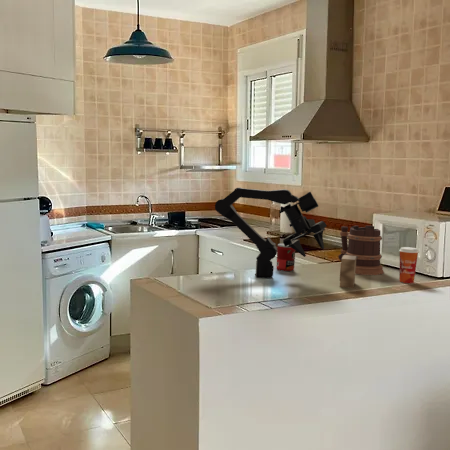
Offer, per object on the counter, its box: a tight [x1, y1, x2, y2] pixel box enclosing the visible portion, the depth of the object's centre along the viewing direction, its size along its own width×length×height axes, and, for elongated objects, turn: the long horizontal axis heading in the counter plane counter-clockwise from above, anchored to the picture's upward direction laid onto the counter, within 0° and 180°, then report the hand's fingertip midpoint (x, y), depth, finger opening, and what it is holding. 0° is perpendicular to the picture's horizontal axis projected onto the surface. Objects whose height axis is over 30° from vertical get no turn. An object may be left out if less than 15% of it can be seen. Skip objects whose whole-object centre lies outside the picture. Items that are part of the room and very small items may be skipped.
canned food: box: [275, 242, 296, 272], centre depth 256 cm, size 8×8×11 cm
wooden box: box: [339, 255, 357, 289], centre depth 228 cm, size 5×10×11 cm, turn 164°
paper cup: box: [398, 246, 420, 284], centre depth 239 cm, size 8×8×14 cm
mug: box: [337, 225, 385, 276], centre depth 262 cm, size 18×23×20 cm
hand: (314, 252), depth 234 cm, fingers open, 9 cm apart
